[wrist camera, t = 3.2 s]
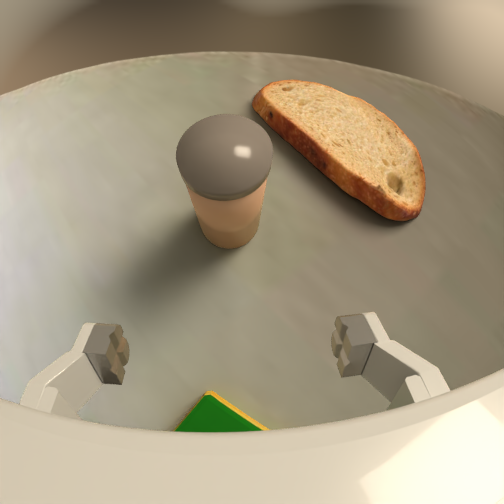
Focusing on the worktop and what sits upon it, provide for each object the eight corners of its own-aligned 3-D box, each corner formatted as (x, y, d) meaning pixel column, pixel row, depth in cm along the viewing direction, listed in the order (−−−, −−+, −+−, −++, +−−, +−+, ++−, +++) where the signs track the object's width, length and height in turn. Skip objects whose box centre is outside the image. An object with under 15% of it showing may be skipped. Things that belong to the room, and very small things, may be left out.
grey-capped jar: (208, 257, 26) (187, 205, 15) (192, 202, 27) (168, 128, 16) (268, 239, 26) (287, 177, 16) (249, 186, 27) (255, 106, 17)
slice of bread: (249, 88, 31) (250, 65, 28) (386, 96, 32) (396, 78, 29) (265, 231, 27) (269, 215, 23) (430, 223, 28) (449, 210, 24)
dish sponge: (285, 513, 20) (288, 526, 17) (163, 442, 22) (156, 451, 19) (333, 464, 21) (341, 475, 19) (209, 387, 23) (206, 393, 21)
